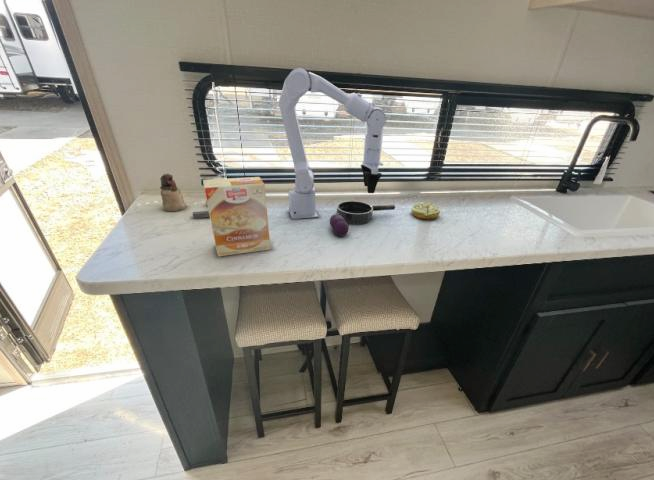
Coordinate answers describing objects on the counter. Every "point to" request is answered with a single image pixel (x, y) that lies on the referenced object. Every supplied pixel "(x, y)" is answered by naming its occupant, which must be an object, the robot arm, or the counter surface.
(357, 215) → the pan
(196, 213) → the door handle
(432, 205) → the decorated donut
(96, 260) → the counter surface
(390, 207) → the pan handle
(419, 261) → the counter surface
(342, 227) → the eggplant
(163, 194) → the figurine
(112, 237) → the counter surface
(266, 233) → the coffeecake box
